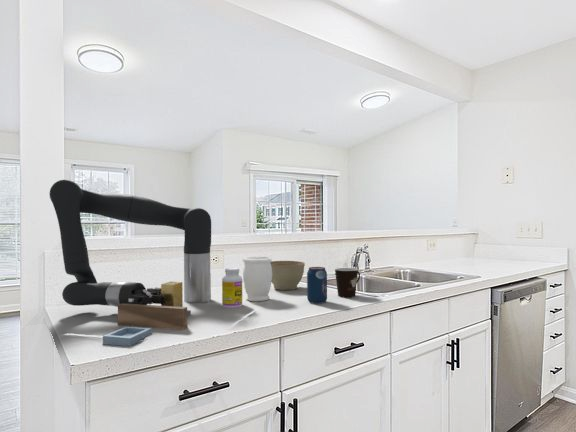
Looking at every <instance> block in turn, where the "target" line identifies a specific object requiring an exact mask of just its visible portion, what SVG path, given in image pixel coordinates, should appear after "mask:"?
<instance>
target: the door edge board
mask: <svg viewBox="0 0 576 432" xmlns="http://www.w3.org/2000/svg"><path fill="white" fill-rule="evenodd" d="M187 310H188V306H183V307H175V306H161V305H158V304H157V305H156V304H155V305H153V304H147V305H139V304H120V305H118V307H117V326H125V327H140V328H153V329H154V328H155V329H169V330H182V331H183V330H185V329H188V316H187Z"/></svg>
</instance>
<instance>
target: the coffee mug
mask: <svg viewBox="0 0 576 432" xmlns="http://www.w3.org/2000/svg"><path fill="white" fill-rule="evenodd" d="M334 271H335V280H336V281H335V283H336V289H337V296H338V297H340V298H343V299H344V298H350V299H351V298H355V297H356V292H357V284H358V283H359V280H361V272H360V271H359V269H358V268H355V267H340V268H339V267H337V268H334Z"/></svg>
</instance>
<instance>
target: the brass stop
mask: <svg viewBox="0 0 576 432" xmlns="http://www.w3.org/2000/svg"><path fill="white" fill-rule="evenodd" d="M160 288H161V296H165V297H166V303H164V304H160V306H175V307H184V306H183V304H184V303H183V302H184V301H183V300H184V294H183V281H168V282H165V283H161V284H160Z"/></svg>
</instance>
